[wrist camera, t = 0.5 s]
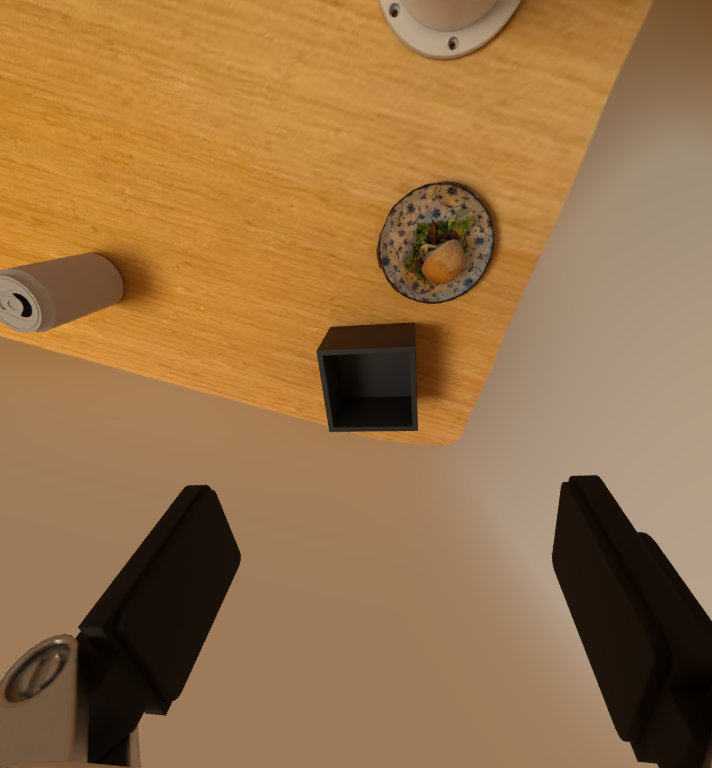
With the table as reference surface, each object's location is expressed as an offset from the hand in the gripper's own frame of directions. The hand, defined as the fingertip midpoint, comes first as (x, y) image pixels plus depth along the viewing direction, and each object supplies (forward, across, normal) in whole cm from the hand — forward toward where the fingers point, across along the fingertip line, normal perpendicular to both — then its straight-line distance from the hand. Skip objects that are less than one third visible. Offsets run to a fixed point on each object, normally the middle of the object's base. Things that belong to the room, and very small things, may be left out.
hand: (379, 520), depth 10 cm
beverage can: (+36, +37, -4) cm, 51 cm away
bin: (+35, +4, +11) cm, 37 cm away
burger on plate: (+35, -4, -2) cm, 36 cm away
